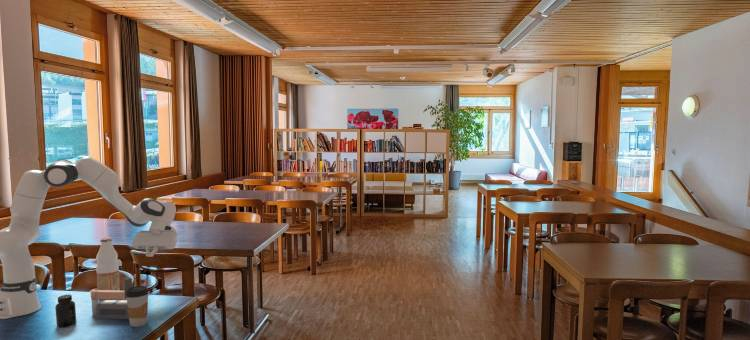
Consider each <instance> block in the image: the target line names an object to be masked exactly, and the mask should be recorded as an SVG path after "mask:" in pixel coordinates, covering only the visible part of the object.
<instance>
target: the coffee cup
mask: <svg viewBox="0 0 750 340" xmlns="http://www.w3.org/2000/svg"><path fill="white" fill-rule="evenodd" d="M126 297H127V299H126V300H127V307H128V315H129V319H128V320H129V321H128V322H129V325H130V327H133V328H138V327H142V326H145V325H146V324H147V322H148V311H149V307H148V306H149V302H148V301H149V300H148V299H149V289H148V286H146V285H136V286H132V287H131V288H129V289H127V292H126Z"/></svg>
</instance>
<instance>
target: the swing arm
mask: <svg viewBox="0 0 750 340" xmlns="http://www.w3.org/2000/svg"><path fill="white" fill-rule="evenodd" d="M131 287H133V278H132V277H126V278H124V279H123V289H124V290H122V289H121V290H99V291H98V290H97V289H93V290H90V299H91V300H92V299H98V300H99V299H100V300H102V299H103V300H127V297H126V292H127V289H129V288H131Z"/></svg>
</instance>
